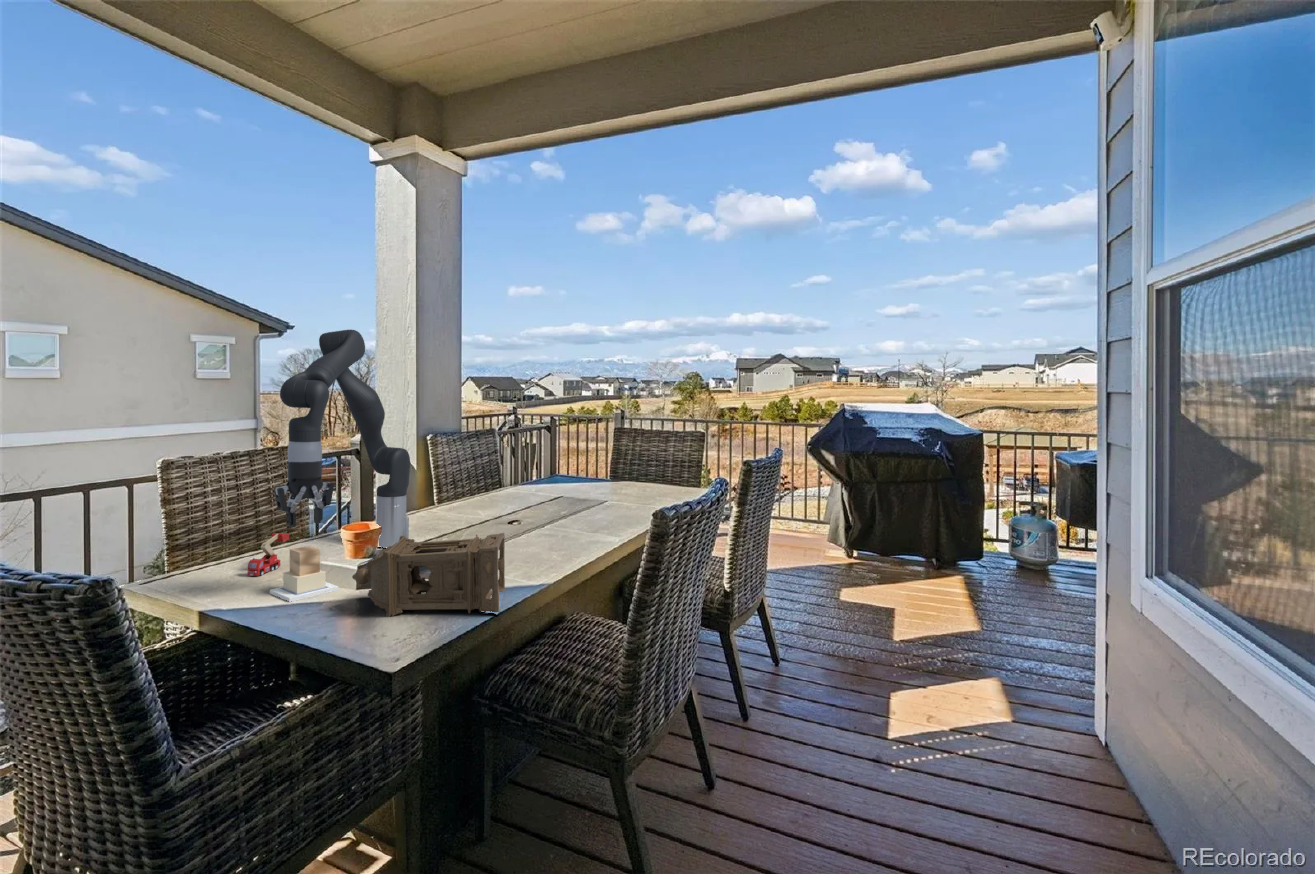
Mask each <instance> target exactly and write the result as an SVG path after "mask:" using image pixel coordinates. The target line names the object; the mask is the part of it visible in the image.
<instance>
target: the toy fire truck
mask: <svg viewBox="0 0 1315 874" xmlns="http://www.w3.org/2000/svg"><path fill="white" fill-rule="evenodd" d="M289 540H290V534H289V533H282V532H281V533H279V532H278V533H275V532H274V533H271V538H269V539H268V540H267V541H265V542H263V543H262V544H261V546H260V549H261V550H262V551H263V553H264V555H262V557H261V558H254V557H253V558H252V559H250V560H249V561H248V564H247V576H249V577H259V576H260V577H261V576H262V575H264V574H265V573H268V572H273V571H274V570H278V569H277V568H279V567H281V559H279V558H278V554H276V553H275V552H274V550H273V548H272V546H271V544H273V543H274V542H275V543H284V542H286V541H289Z"/></svg>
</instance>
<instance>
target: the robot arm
mask: <svg viewBox="0 0 1315 874" xmlns="http://www.w3.org/2000/svg"><path fill="white" fill-rule="evenodd" d="M318 344H319V349H320V352H321V354H322V356H320V357H318V358H317V359H315V360H314V361H312V362H311V363H310V364H309V365H308V367H307V368H306V369H305V370H304V371H301V372H298V373H297V374H295V375H292V376H290V377H289V378H287V379H286V380H285V381H284V382H283V383H282V385H281V387H280V391H279V397H280V400H281V403H283V404H284V405H285V406H287V407H290V408H296V409H299V408H300V409H309V411H308V413H307V415H305V416H299V417H294V418H291V419H290V420H289V423H288V446H287V483H286V485H283V486H275V487H274V488H273V492H274V493H273V494H274V497H275V503H276V507H277V510H279V511H282V512H285V513H286V514H285V515H286V525H288V527H289V528H296V527H297V513H296V510H297V507H298V505H299V504H300V503H301V501H303V500H306V499H309V500H310V501H311V502H312V504H313V507H314V508H313V523H314V524H321V522H322V521H323V519H324V517H323V515H324V512H323V511H324V508H325V507H328V506H331V504H332V498H333V494H334V487H335V484H334V482H329V481H326V482H324V481H323V480H322V476H323V448H322V423H323V419H324V415H325V411H326V408H327V405H328V402H329V399H330V388H331V386H332V385H333V384H334V382H335V381H336V382H337V383H338V386H339V388H340V391H341V392H342V394H343V395H342V396H344V397H343V398H345V401H346V404H347V407H348V408H349V412H350V413H351V415H352V418H353V420H354V422H355V423H356V426H357V428H358V431H359V433H360V436H361V438H362V441H363V444H364V447H365V449H366V453H367V456H368V459H369V462H370V465H371V467H372V469H373V470H374V471H375V472H376V473H377V474H380V475H385V476H387V475H388V476H389V479H388V481H387V483H384V484H381V485H379V486H377V488H376V501H375V502H376V509H375V510H376V519H375V520H376V521H375V523H376V524H378V525H379V526H381V527H382V534H381V536H380V538H379V546H381V547H383V548H386V547H389V546H393V545H395V543H398V542H399V539H400V536H405V538H408V539H410V538H409V535H410V534H409V532H410V531H409V527H410V517H409V516H407V497H408V496H407V490H408V487H409V485H410V483H409V482H410V472H411V471H410V470H411V459H410V458H411V457H410V454H409V452H408V450H407V449H405V448H403V447H402V448H401V447H394V446H393V447H391V446H387V444H386V443H385V440H384V438H383V435H382V429H383V425H384V421H385V416H386V413H385V409H384V407H383V403H382V401H381V399H380V396H379V394H378V393H377V392H376V390H374V389H373V388H372V387H371V386H370V385H368V384H367V383H366V382H365V381H363V380H362V379H360V378H359V377H358V376H357V375H355V374H354V373H353V372H352V370H351V368H350V367H351V366H353V365H354V364H355V363H357V362H359V361H360V360H361V359H362V358H363V357H364V356H365V353H366V343H365V339H364V337H363V335H362V334H361V333H360V332H359V331H358V330H356V329H342V330H335V331H327V332H325V333H322V334H320V336H319V338H318ZM321 489H322V496H321V494H320V493H319V492H320V491H321ZM287 491H288V492H289V493H290V495H289V496H288V499H286V498H287V497H286V494H287ZM376 524H375V525H376ZM383 548H382V549H383Z"/></svg>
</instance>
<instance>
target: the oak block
mask: <svg viewBox="0 0 1315 874" xmlns="http://www.w3.org/2000/svg"><path fill="white" fill-rule="evenodd" d="M320 570H321V549H320V548H318V547H315V546H311V545H307V546H306V545H305V546H301V547H294V548H291V549H289V571H290V573H292V574H295V575H297V576H304V575H308V574H313V573H318V572H320Z"/></svg>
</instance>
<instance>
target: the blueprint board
mask: <svg viewBox="0 0 1315 874" xmlns="http://www.w3.org/2000/svg"><path fill="white" fill-rule="evenodd" d="M282 574H283V575H282V577H283V579H282V580H283V581H282V586H280V587H275V588H271V589H269V594H270V595H272V596H275V597H277V596H278V597H277V598H279V597H280V598H279V599H282V600H283V601H286V600H287V602H288V601H289V602H288V603H292V602H296V600H297V601H300V600H305V599H309V598H312V597H316V596H321V595H324V594H327V593H328V594H329V593H333V592H337V591H339V586H338V585H336V584H333V583H330V582H327V581H326V580H327V579H326V577H327V574H326V571H325V570H321V569H320V572H318V573H313V574H308V575H304V576H297V575H295V574H292V573H290V570H289V571H285V572H282ZM291 601H292V602H291Z"/></svg>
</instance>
